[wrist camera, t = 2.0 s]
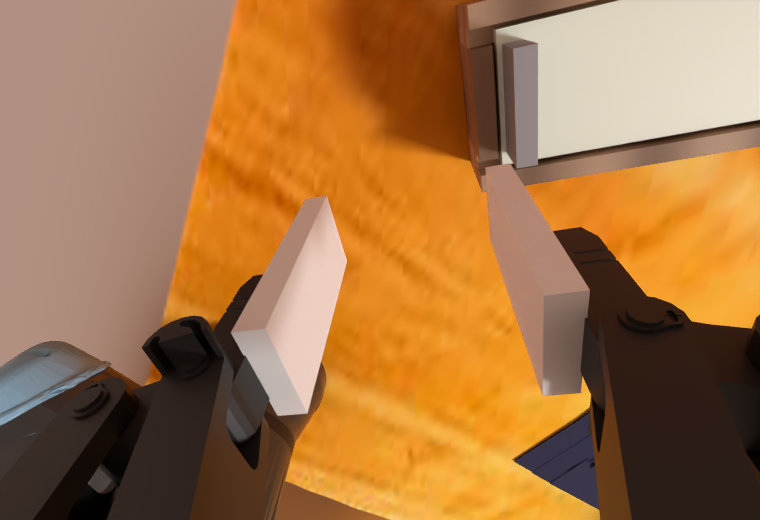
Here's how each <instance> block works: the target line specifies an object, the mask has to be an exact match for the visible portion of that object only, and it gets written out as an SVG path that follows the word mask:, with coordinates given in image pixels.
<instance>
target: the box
mask: <svg viewBox="0 0 760 520" xmlns="http://www.w3.org/2000/svg"><path fill="white" fill-rule="evenodd" d="M609 1H613V0H478V1H474V2H470V3H466V4H462V5H458V6H456V11H457V22H458V33H459V43H460V54H461V65H462V75H463V86H464V97H465V107H466V118H467V129H468V140H469V150H470V161H471V164H472V167H473V169H474V172H475V174H476V177H477V180H478V182H479V185H480V188H481V190H482V193H483V192H487V185H486V171H485V167H491V166H496V165H502V164H501V162H500V149H499V129H498V110H497V91H496V72H495V53H494V34H493V29H496V28H500V27H504V26H508V25H513V24H517V23H521V22H525V21H529V20H534V19H538V18H542V17H546V16H550V15H555V14H559V13H563V12H567V11H571V10H576V9H580V8H584V7H588V6H592V5H597V4H601V3H605V2H609ZM759 146H760V120H755V121H749V122H744V123H738V124H733V125H727V126H721V127H716V128H710V129H704V130H699V131H693V132H687V133H682V134H676V135H671V136H665V137H659V138H654V139H648V140H642V141H637V142H631V143H625V144H620V145H614V146H608V147H603V148H597V149H592V150H586V151H580V152H575V153H569V154H563V155H558V156H552V157H546V158H541V159H538V165H535V166H529V167H523V168H516V167H515V165H514V164H511V166H512V167H513V169H514V170H515V172H516V174H517V175H518V177H519V178H520V180H521V182H522V183H523V185H524V186H525V185H531V184H537V183H543V182H549V181H555V180H561V179H567V178H573V177H579V176H585V175H591V174H597V173H603V172H609V171H615V170H621V169H627V168H633V167H639V166H645V165H651V164H657V163H663V162H669V161H675V160H681V159H687V158H693V157H699V156H705V155H711V154H717V153H723V152H729V151H735V150H741V149H747V148H753V147H759Z"/></svg>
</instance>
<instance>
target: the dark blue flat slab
mask: <svg viewBox="0 0 760 520" xmlns="http://www.w3.org/2000/svg"><path fill="white" fill-rule="evenodd" d="M588 420H589V413H588V414H587V415H585V416H584V417H583V418H581V419H580V420H579V421H577V422H575V423H574V424H572V425H571V426H569V427H568V428H566V429H564V430H563V431H561V432H560V433H558V434H557V435H555V436H553V437H552V438H550V439H549V440H547V441H546V442H544V443H542V444H541V445H539V446H538V447H536V448H535V449H533V450H531V451H530V452H528V453H527V454H525V455H524V456H522V457H520V458H519V459H517V460H516V461H514V462H516V463H518V464H519V465H521V466H523V467H525V468H526V469H528V470H530V471H531V472H532V473H533V474H535V475H537V476H539V477H540V478H542V479H544V480H546V481H547V482H549V483H550V484H552V485H554V486H556V487H557V488H559V489H561V490H563V491H565V492H567V493H569V494H571V495H572V496H574V497H576V498H578V499H580V500H582V501H584V502H586V503H588V504H589V505H591V506H593V507H595V508H597V509H599V500H598V490H597V479H596V469H595V459H594V449H593V439H592V434H591V433H587V429H588Z"/></svg>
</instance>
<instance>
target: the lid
mask: <svg viewBox="0 0 760 520" xmlns="http://www.w3.org/2000/svg"><path fill="white" fill-rule="evenodd" d="M493 34H494V53H495V72H496V91H497V110H498V129H499V149H500V162H501V164H508V163H510V164H514V165H515V167H516V168H523V167H529V166H535V165H538V159H541V158H546V157H552V156H558V155H563V154H569V153H575V152H580V151H586V150H592V149H597V148H603V147H608V146H614V145H620V144H625V143H631V142H637V141H642V140H648V139H654V138H659V137H665V136H671V135H676V134H682V133H687V132H693V131H699V130H704V129H710V128H716V127H721V126H727V125H733V124H738V123H744V122H749V121H755V120H760V0H613V1H609V2H605V3H601V4H597V5H592V6H588V7H584V8H580V9H576V10H571V11H567V12H563V13H559V14H555V15H550V16H546V17H542V18H538V19H534V20H529V21H525V22H521V23H517V24H513V25H508V26H504V27H500V28H496V29H493Z"/></svg>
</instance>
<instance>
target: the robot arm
mask: <svg viewBox="0 0 760 520" xmlns="http://www.w3.org/2000/svg"><path fill="white" fill-rule="evenodd" d="M485 171H486V185H487V198H488V212H489V225H490V239H491V243H492V246H493V249H494V252H495V255H496V258H497V261H498V264H499V267H500V270H501V273H502V276H503V279H504V282H505V285H506V288H507V291H508V294H509V297H510V300H511V303H512V306H513V309H514V312H515V315H516V318H517V321H518V324H519V327H520V330H521V333H522V336H523V339H524V342H525V345H526V348H527V351H528V353H529V356H530V359H531V362H532V365H533V368H534V371H535V374H536V377H537V380H538V383H539V386H540V389H541V392H542V395H543V396H546V395H560V394H573V393H581V384H582V376H583V378H584V380H585V382H586V384H587V387H588V389H589V391H590V393H591V402H590V411H589V420H588V429H587V433H591V434H592V439H593V449H594V459H595V469H596V479H597V490H598V500H599V510H600V520H760V315H759V316H758V317H756V319H755V322H754V324H753V327H752V329H750V328H740V327H730V326H720V325H710V324H704V323H697V322H692V321H691V320H690V319H689V318H688V316H687V315H686V314H685V312H684V311H682V310H680V309H679V308H677V307H676V306H674V305H673V304H671V303H669V302H666V301H663V300H660V299H657V298H655V297H648V296H646V294H645V293H644V292H643V291H642V289H641V288H640V287H639V286H638V285H637V283H636V282H635V281H634V280H633V278H632V277H631V276H630V275H629V273H628V272H627V271H626V270H625V269H624V267H623V266H622V265H621V264H620V262H619V261H616V258H615V256H614V255H613V254H612V253H611V251H610V250H609V251H608V248H607V247H606V245H605V244H604V243H603V242H602V240H601V239H600V238H599V237H598V236H597V235H595V234H593V233H591V232H589V231H587V230H585V229H583V228H581V227H579V228H572V229H565V230H558V231H552V229H551V228H550V226H549V224H548V223H547V221H546V220H545V218H544V216H543V215H542V213H541V212H540V210H539V209H538V207H537V205H536V204H535V202H534V201H533V199H532V197H531V196H530V194H529V193H528V191H527V189H526V188H525V186H524V185H523V183H522V182H521V180H520V178H519V177H518V175H517V174H516V172H515V170H514V169H513V167H512V166H511V164H510V163H508V164H502V165H496V166H491V167H485ZM346 263H347V260H346V257H345V254H344V250H343V247H342V244H341V241H340V237H339V234H338V231H337V228H336V224H335V221H334V218H333V215H332V212H331V208H330V205H329V202H328V199H327V196H322V197H316V198H311V199H306V200H305V201H304V203H303V205H302V207H301V209H300V210H299V212H298V214H297V216H296V217H295V219H294V221H293V223H292V225H291V226H290V228H289V230H288V232H287V233H286V235H285V237H284V239H283V241H282V242H281V244H280V246H279V248H278V249H277V251H276V253H275V255H274V257H273V258H272V260H271V262H270V264H269V266H268V267H267V269H266V271H265V273H264V274H263V275H257V276H253V277H252V278H251V279H249V280H248V281H247V282H246V283H245V284H244V285H243V286H242V287H240V289H239V290H238V292H237V294H236V295H235V297H234V299H233V302H231V303H230V305H229V307H228V308H227V312H226V313H224V315H223V316H222V318H221V320H220V321H219V323H218V324H217V326H216V328H215V329H214V331H213V330H212V329H211V327H210V325H209V324H208V322H207V321H206V320H205V319H204V318H203V317H199V316H189V317H184V318H181V319H178V320H175V321H173V322H170V323H169V324H167V325H165V326H164V327H162V328H160V329H159V330H157V332H155V333H154V334H153V335H152V336H151V337H149V338H148V340H147V341H146V342H145V344H144V345H143V346H142V349H143V350H144V352H145V353H146V354H147V355H148V357H149V358H150V360H151V361H152V362H153V364H154V365H155V366H156V368H157V369H158V370H159V372H160V373H161V374H162V378H161V380H160V381H158V382H155V383H152V384H149V385H146V386H143V387H142V386H140V385H139V384H137V383H135V382H134V381H132V380H130V379H129V378H127V377H125V376H124V375H122V374H121V373H119V372H117V371H116V370H114V369H112V368H111V367H109V366H110V365H111V363H109V362H107V361H103V362H102V361H100V360H99V359H97V358H95V357H93V356H91V355H89V354H87V353H86V352H84V351H82V350H80V349H78V348H76V347H74V346H72V345H71V344H68V343H65V342H61V341H49V342H44V343H41V344H38V345H36V346H33V347H31V348H29V349H28V350H26V351H24V352H22V353H21V354H19V355H18V356H16V357H14V358H13V359H12V360H10V361H8V362H7V363H5V364H4V365H2V366H1V367H0V520H275V517H276V513H277V509H278V505H279V501H280V498H281V494H282V490H283V486H284V482H285V479H286V475H287V471H288V468H289V464H290V460H291V456H292V452H293V449H294V445H295V442H296V440H297V439H298V437H299V436H300V434H301V433H302V431H303V430H304V428H305V426H306V425H307V423H308V422H309V420H310V419H311V417H312V415H313V414H314V412H315V411H316V410H317V408H318V407H319V405H320V403H321V400H322V397H323V393H324V388H325V384H326V374H325V370H324V367H323V365H322V363H321V360H322V356H323V352H324V348H325V344H326V340H327V336H328V333H329V329H330V325H331V321H332V317H333V313H334V310H335V306H336V302H337V298H338V294H339V290H340V287H341V283H342V279H343V275H344V271H345V267H346Z"/></svg>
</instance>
